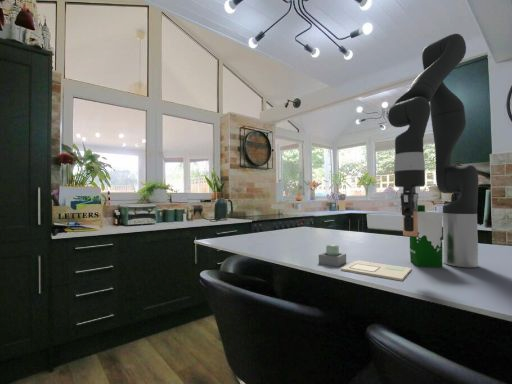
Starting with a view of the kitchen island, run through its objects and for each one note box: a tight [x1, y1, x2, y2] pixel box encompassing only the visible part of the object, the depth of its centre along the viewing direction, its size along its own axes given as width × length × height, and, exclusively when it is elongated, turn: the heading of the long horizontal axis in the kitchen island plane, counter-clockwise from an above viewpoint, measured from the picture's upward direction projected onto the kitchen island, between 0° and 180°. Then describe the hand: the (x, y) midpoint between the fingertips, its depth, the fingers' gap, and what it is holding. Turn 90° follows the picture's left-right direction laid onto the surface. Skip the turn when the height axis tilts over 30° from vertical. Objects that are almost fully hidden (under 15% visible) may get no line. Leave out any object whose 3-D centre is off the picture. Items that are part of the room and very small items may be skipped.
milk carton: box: [409, 204, 443, 268], centre depth 90 cm, size 9×9×20 cm
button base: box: [318, 251, 347, 267], centre depth 92 cm, size 7×7×3 cm
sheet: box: [340, 259, 413, 282], centre depth 83 cm, size 14×17×1 cm
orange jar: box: [402, 206, 418, 237], centre depth 75 cm, size 4×4×8 cm
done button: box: [325, 244, 340, 256], centre depth 93 cm, size 4×4×4 cm
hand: (410, 230), depth 75 cm, fingers closed on orange jar, 3 cm apart
